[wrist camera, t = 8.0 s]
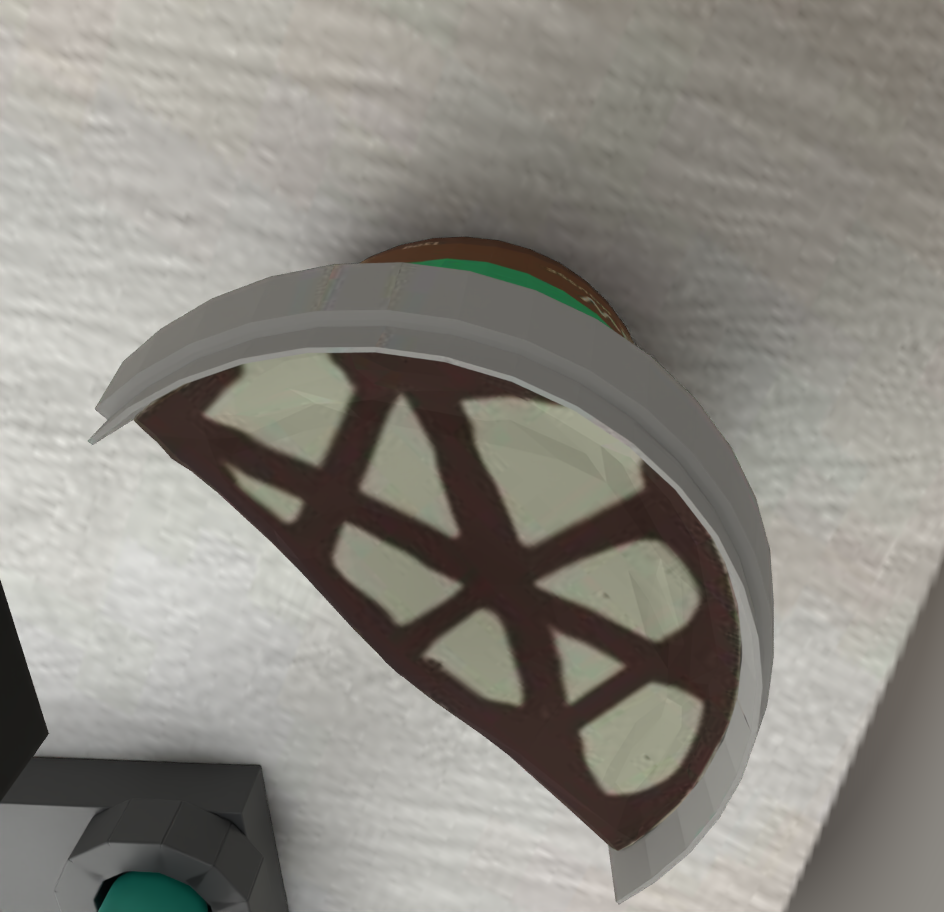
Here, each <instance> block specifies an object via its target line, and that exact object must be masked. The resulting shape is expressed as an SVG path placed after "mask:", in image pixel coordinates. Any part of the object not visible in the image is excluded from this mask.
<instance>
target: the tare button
mask: <svg viewBox="0 0 944 912" xmlns="http://www.w3.org/2000/svg"><path fill="white" fill-rule="evenodd" d="M98 912H208V907H207V904H206V901H205V900H204V899H203V898H202V897H201V896H200V895H199V894H198V893H197V892H196V891H195V890H194V889H193V888H192V887H191V886H190V885H187V884H185V883H183V882H180V881H178V880H175V879H173V878H171V877H168V876H166V875H164V874H161V873H158V872H137V871H130V872H127V873H125V874H123V875H122V876H120V877H119V878H118V879H116V880H115V882H114V883H113V884H112V886H111V888H110V890H109V892H108V894H107V895H106V897H105V899H104V901H103V903H102V905H101V907H100V909H99V911H98Z"/></svg>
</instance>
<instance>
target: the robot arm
mask: <svg viewBox="0 0 944 912" xmlns="http://www.w3.org/2000/svg"><path fill="white" fill-rule="evenodd" d="M48 734H49V733H48V730H47V726H46V723H45V720H44V717H43V714H42V711H41V707H40V704H39V701H38V698H37V695H36V692H35V688H34V685H33V682H32V679H31V676H30V672H29V669H28V666H27V663H26V660H25V657H24V653H23V650H22V647H21V644H20V641H19V638H18V634H17V631H16V628H15V625H14V622H13V619H12V615H11V612H10V609H9V606H8V603H7V599H6V596H5V593H4V590H3V587H2V584H1V580H0V802H1V800H2V799H3V797H4V796H5V795H6V793H7V792H8V790H9V789H10V788H11V786H12V785H13V783H14V782H15V781H16V779H17V778H18V776H19V775H20V774H21V772H22V771H23V769H24V768H25V767H26V765H27V764H28V762H29V761H30V760H31V758H32V757H33V755H34V754H35V753H36V751H37V750H38V748H39V747H40V746H41V744H42V743H43V741H44V740H45V739H46V737H47V736H48Z"/></svg>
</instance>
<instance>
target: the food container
mask: <svg viewBox="0 0 944 912" xmlns="http://www.w3.org/2000/svg"><path fill="white" fill-rule="evenodd" d="M95 410H96V411H97V412H99V413H100V414H101V415H102V416H104V417H105V418H106V419H107V421H106V422H105V423H104V424H103V425H102V426H101V427H100V428H99V430H98V431H97V432H96V433H95V434H94V435H93V436H92V437H91V438H90V439H89V440H88V442H89V443H91V444H92V445H93V444H95V443H97V442H98V441H100V440H101V439H103V438H105V437H106V436H108V435H109V434H111V433H113V432H114V431H116V430H118V429H119V428H121V427H122V426H124V425H126V424H127V423H129V422H130V421H132V420H134V421H135V422H136V423H137V424H138V425H139V426H140V427H141V428H142V429H143V430H144V431H145V432H146V433H147V434H149V435H150V436H151V437H152V438H153V439H154V440H155V441H157V442H158V444H159V445H160V446H161V447H162V448H163V449H164V450H165V452H166V453H167V454H168V455H169V456H170V457H171V458H172V459H173V460H175V461H176V462H178V463H179V464H181V465H183V466H184V467H186V468H187V469H189V470H190V471H192V472H193V473H194V474H195V475H197V476H198V477H199V478H200V479H202V480H203V481H204V482H205V483H206V484H208V485H209V486H210V487H211V488H213V489H214V490H215V491H216V492H218V493H219V494H220V495H221V496H222V497H223V498H224V499H225V500H226V501H227V502H228V503H230V504H231V505H232V506H233V507H234V508H235V509H236V510H237V511H238V512H239V513H240V514H242V515H243V516H244V517H245V518H246V519H247V520H248V521H249V522H250V523H251V524H252V525H253V526H255V527H256V528H257V529H258V530H259V531H260V532H261V533H262V534H263V535H264V536H265V537H266V538H268V539H269V540H270V541H271V542H272V543H273V544H274V545H275V546H276V547H277V548H278V549H279V550H280V551H281V552H282V553H283V554H284V555H285V556H286V557H287V558H288V559H289V560H290V561H291V562H292V563H293V564H294V565H295V566H296V567H297V568H298V569H299V570H300V571H301V572H302V574H303V575H304V576H305V577H306V578H307V579H308V580H309V581H310V582H311V583H312V584H313V586H314V587H315V588H316V589H317V590H318V591H319V592H320V593H321V594H322V595H323V596H324V597H325V599H326V600H327V601H328V602H329V603H330V604H331V605H332V606H333V607H334V608H335V609H336V611H337V612H338V613H339V614H340V615H341V616H342V617H343V618H344V619H345V620H346V621H347V622H348V624H349V625H350V626H351V627H352V628H353V629H354V630H355V631H356V632H357V633H358V634H359V635H360V636H361V637H362V638H363V639H364V640H365V641H366V642H367V643H368V644H369V645H370V646H371V647H372V648H373V649H374V650H375V651H376V652H377V653H378V654H379V655H380V656H381V657H382V658H383V660H384V661H385V662H386V663H387V664H388V665H389V666H390V667H392V668H393V669H394V670H395V671H396V672H397V673H398V674H400V675H401V676H402V677H404V678H405V679H406V680H408V681H409V682H410V683H411V684H413V685H414V686H415V687H417V688H418V689H419V690H420V691H422V692H423V693H424V694H426V695H427V696H428V697H429V698H431V699H432V700H433V701H435V702H436V703H437V704H439V705H440V706H442V707H443V708H445V709H446V710H447V711H449V712H450V713H452V714H453V715H455V716H456V717H457V718H459V719H460V720H462V721H463V722H465V723H466V724H467V725H469V726H470V727H472V728H473V729H475V730H476V731H477V732H479V733H480V734H482V735H483V736H484V737H486V738H487V739H488V740H490V741H491V742H492V743H494V744H495V745H496V746H498V747H499V748H500V749H501V750H503V751H504V752H505V753H507V754H508V755H509V756H510V757H511V758H512V759H514V760H515V761H516V762H517V763H518V764H519V765H520V766H521V767H523V768H524V769H525V770H526V771H527V772H528V773H529V774H530V775H532V776H533V777H534V778H535V779H536V780H537V781H538V782H539V783H541V784H542V785H543V786H544V787H545V788H546V789H547V790H548V791H549V792H551V793H552V794H553V795H554V796H555V797H556V798H557V799H558V800H560V801H561V802H562V803H563V804H564V805H565V806H566V807H567V808H569V809H570V810H571V811H572V812H573V813H574V814H575V815H576V816H577V817H578V818H580V819H581V820H582V821H583V822H584V823H585V824H586V825H587V826H588V827H589V828H590V829H592V830H593V831H594V832H595V833H596V834H597V835H598V836H599V837H600V838H601V839H602V840H604V841H605V842H606V843H607V844H608V847H609V855H610V862H611V869H612V877H613V884H614V892H615V899H616V903H618V904H621V903H622V902H624V901H626V900H627V899H629V898H630V897H632V896H634V895H635V894H637V893H639V892H640V891H642V890H643V889H645V888H647V887H648V886H650V885H652V884H653V883H655V882H656V881H657V880H659V879H660V878H661V877H662V876H663V875H664V874H666V873H667V872H668V871H669V870H670V869H672V868H673V867H674V866H675V865H676V864H677V863H679V862H680V861H681V860H682V859H683V858H684V857H686V856H687V855H688V854H689V853H690V852H691V851H692V850H693V849H694V848H695V846H696V845H697V844H698V843H699V842H700V840H701V839H702V838H703V837H704V836H705V835H706V833H707V832H708V831H709V830H710V829H711V827H712V826H713V825H714V824H715V823H716V821H717V820H718V819H719V818H720V816H721V814H722V813H723V811H724V809H725V807H726V806H727V804H728V802H729V800H730V799H731V797H732V795H733V793H734V792H735V790H736V788H737V786H738V785H739V783H740V781H741V779H742V777H743V774H744V771H745V768H746V765H747V762H748V759H749V756H750V753H751V751H752V748H753V746H754V743H755V740H756V737H757V734H758V731H759V728H760V725H761V722H762V719H763V716H764V714H765V711H766V708H767V703H768V695H769V688H770V680H771V673H772V665H773V658H774V600H773V585H772V571H771V557H770V548H769V544H768V541H767V537H766V533H765V529H764V526H763V522H762V518H761V515H760V511H759V507H758V504H757V500H756V497H755V495H754V493H753V491H752V489H751V487H750V485H749V483H748V481H747V479H746V477H745V475H744V472H743V470H742V468H741V466H740V464H739V462H738V460H737V458H736V456H735V454H734V452H733V450H732V448H731V446H730V445H729V444H728V442H727V441H726V440H725V438H724V437H723V436H722V434H721V433H720V431H719V430H718V429H717V427H716V426H715V425H714V423H713V422H712V421H711V419H710V418H709V416H708V415H707V414H706V412H705V411H704V410H703V408H702V407H701V406H700V404H699V403H698V401H697V400H696V399H695V398H694V397H693V396H692V395H691V394H690V393H689V392H688V391H687V390H686V389H685V388H684V387H682V386H681V385H680V384H679V383H678V382H677V381H676V380H675V379H674V378H673V377H672V376H671V375H670V374H669V373H668V372H667V371H666V370H665V369H664V368H663V367H662V366H661V365H660V364H659V363H657V362H656V361H655V360H654V359H653V358H652V357H651V356H650V355H648V354H647V353H645V352H644V351H643V350H641V349H640V348H638V347H637V346H635V345H634V343H633V341H632V339H631V336H630V334H629V332H628V330H627V328H626V326H625V325H624V324H623V322H622V321H621V320H620V318H619V317H618V315H617V314H616V313H615V311H614V310H613V309H612V307H611V306H610V304H609V303H608V302H607V301H606V300H605V299H604V298H603V297H602V296H601V295H600V294H599V293H598V292H597V291H596V290H595V289H594V288H593V287H592V286H591V285H590V284H588V283H587V282H586V281H585V280H584V279H582V278H581V277H579V276H578V275H577V274H575V273H574V272H572V271H571V270H569V269H568V268H566V267H565V266H563V265H562V264H560V263H559V262H557V261H554V260H552V259H550V258H548V257H546V256H544V255H542V254H539V253H537V252H535V251H533V250H531V249H528V248H524V247H520V246H517V245H513V244H510V243H506V242H503V241H499V240H491V239H482V238H473V237H449V238H432V239H427V240H422V241H418V242H413V243H408V244H403V245H400V246H397V247H394V248H392V249H389V250H387V251H384V252H381V253H379V254H376V255H373V256H371V257H369V258H368V259H366V260H364V261H362V262H361V263H359V264H333V265H328V266H323V267H318V268H312V269H307V270H302V271H297V272H292V273H286V274H281V275H276V276H271V277H268V278H265V279H263V280H260V281H257V282H255V283H252V284H249V285H247V286H244V287H241V288H239V289H236V290H233V291H231V292H228V293H225V294H223V295H220V296H217V297H215V298H212V299H210V300H209V301H207V302H205V303H204V304H202V305H200V306H198V307H197V308H195V309H193V310H192V311H190V312H188V313H187V314H185V315H183V316H182V317H180V318H178V319H176V320H175V321H173V322H171V323H170V324H168V325H166V326H165V327H163V328H161V329H160V330H159V331H158V332H157V333H155V334H154V335H153V336H152V337H151V338H150V339H148V340H147V341H146V342H145V343H144V344H143V345H142V346H140V347H139V348H138V349H137V350H136V351H135V352H134V353H132V354H131V355H130V356H129V357H128V358H127V359H125V360H124V361H123V362H122V364H121V366H120V367H119V369H118V371H117V372H116V374H115V376H114V377H113V379H112V381H111V382H110V384H109V386H108V388H107V389H106V391H105V393H104V394H103V396H102V398H101V399H100V401H99V403H98V404H97V406H96V408H95Z"/></svg>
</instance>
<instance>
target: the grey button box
mask: <svg viewBox="0 0 944 912" xmlns="http://www.w3.org/2000/svg"><path fill="white" fill-rule="evenodd" d="M130 871H137V872H158V873H161V874H164V875H166V876H168V877H171V878H173V879H175V880H178V881H180V882H183V883H185V884H187V885H190V886H191V887H192V888H193V889H194V890H195V891H196V892H197V893H198V894H199V895H200V896H201V897H202V898H203V899H204V900H205V901H206V904H207V907H208V912H288V908H287V903H286V898H285V892H284V887H283V882H282V877H281V871H280V866H279V861H278V856H277V850H276V845H275V840H274V835H273V829H272V824H271V819H270V814H269V808H268V803H267V798H266V793H265V787H264V782H263V777H262V771H261V767H260V766H249V765H221V764H194V763H166V762H139V761H111V760H84V759H56V758H31V760H30V761H29V762H28V764H27V765H26V767H25V768H24V769H23V771H22V772H21V774H20V775H19V776H18V778H17V779H16V781H15V782H14V783H13V785H12V786H11V788H10V789H9V790H8V792H7V793H6V795H5V796H4V797H3V799H2V800H1V802H0V912H98V911H99V909H100V907H101V905H102V903H103V901H104V899H105V897H106V895H107V894H108V892H109V890H110V888H111V886H112V884H113V883H114V882H115V880H116V879H118V878H119V877H120V876H122V875H123V874H125V873H127V872H130Z"/></svg>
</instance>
